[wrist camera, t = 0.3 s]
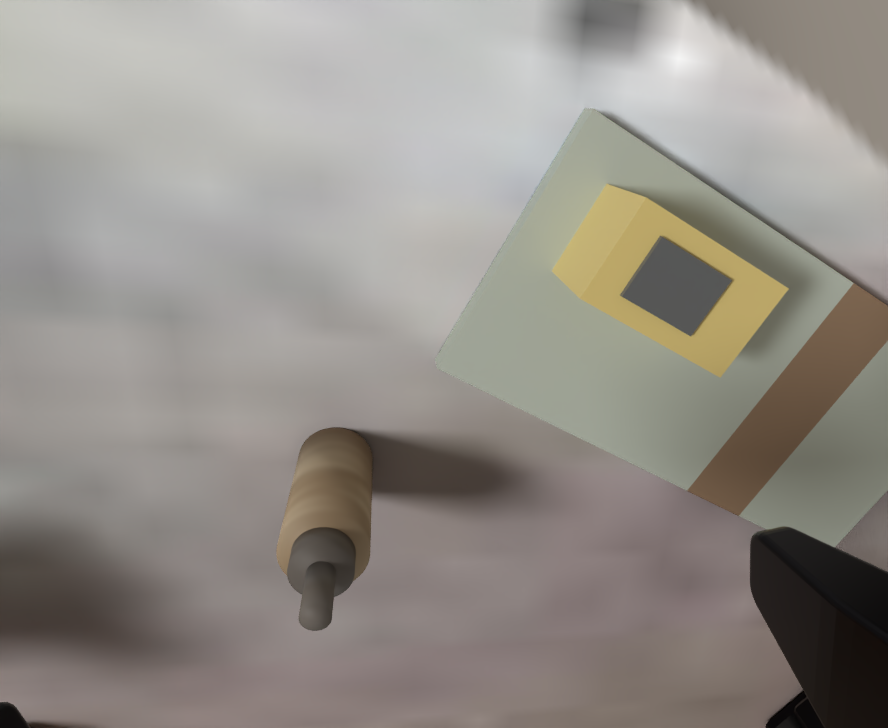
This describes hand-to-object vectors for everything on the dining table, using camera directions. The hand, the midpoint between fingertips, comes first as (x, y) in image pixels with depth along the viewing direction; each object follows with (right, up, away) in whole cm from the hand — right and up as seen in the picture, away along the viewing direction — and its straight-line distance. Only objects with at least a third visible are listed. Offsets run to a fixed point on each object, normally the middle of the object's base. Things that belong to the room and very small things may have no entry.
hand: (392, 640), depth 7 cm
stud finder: (+7, +6, +12) cm, 15 cm away
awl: (-3, 0, +15) cm, 15 cm away
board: (+10, +3, +14) cm, 18 cm away
